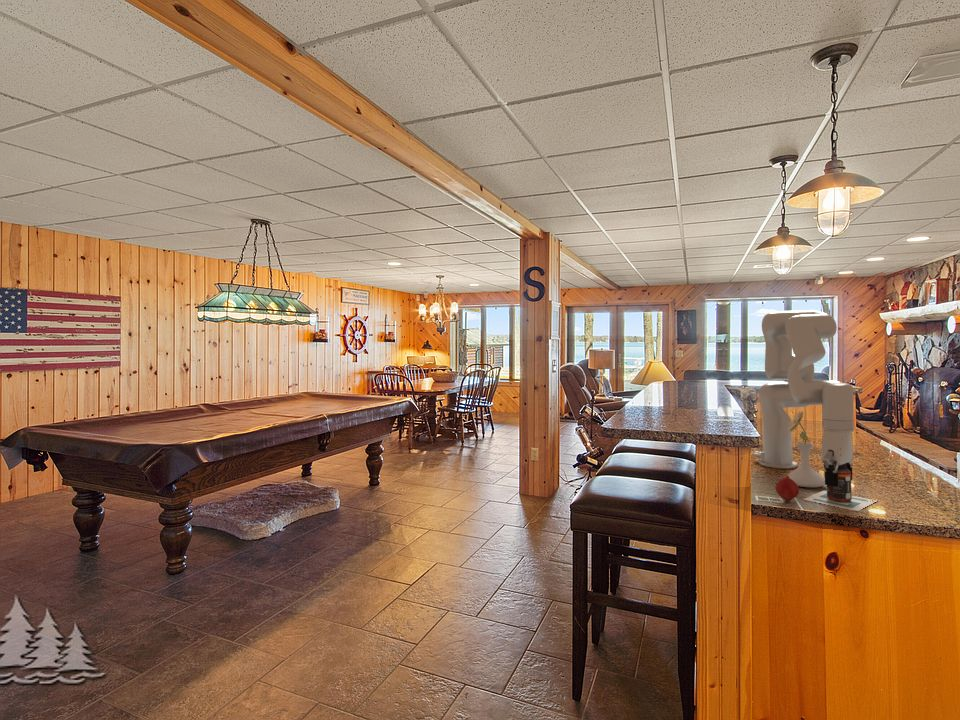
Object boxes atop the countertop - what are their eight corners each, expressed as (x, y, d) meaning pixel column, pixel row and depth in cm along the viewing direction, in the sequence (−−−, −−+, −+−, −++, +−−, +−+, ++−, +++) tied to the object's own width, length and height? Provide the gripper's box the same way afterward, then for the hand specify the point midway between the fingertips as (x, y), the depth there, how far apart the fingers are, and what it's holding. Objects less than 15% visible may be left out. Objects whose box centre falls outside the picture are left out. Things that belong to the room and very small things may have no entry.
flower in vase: (790, 479, 172) (788, 406, 171) (830, 484, 164) (828, 408, 163) (779, 487, 163) (777, 411, 162) (821, 493, 154) (819, 413, 154)
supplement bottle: (856, 503, 144) (855, 464, 144) (833, 502, 145) (832, 464, 145) (845, 496, 150) (844, 459, 149) (823, 496, 151) (822, 459, 151)
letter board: (802, 499, 149) (802, 499, 149) (823, 491, 157) (823, 490, 157) (858, 511, 138) (858, 510, 138) (877, 501, 145) (877, 500, 145)
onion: (771, 499, 151) (771, 473, 151) (789, 498, 151) (788, 471, 151) (785, 505, 145) (784, 478, 145) (803, 503, 146) (803, 476, 145)
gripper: (835, 420, 155) (836, 474, 155) (810, 427, 145) (811, 485, 146) (864, 422, 149) (865, 479, 149) (840, 430, 139) (841, 491, 140)
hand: (838, 482), depth 147 cm, fingers open, 9 cm apart
